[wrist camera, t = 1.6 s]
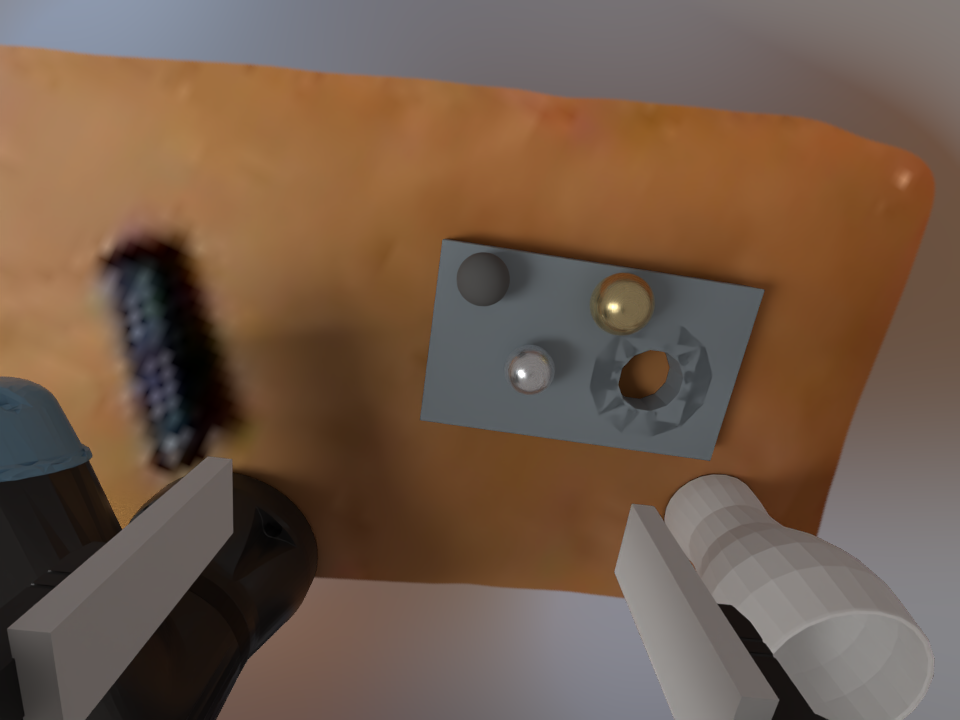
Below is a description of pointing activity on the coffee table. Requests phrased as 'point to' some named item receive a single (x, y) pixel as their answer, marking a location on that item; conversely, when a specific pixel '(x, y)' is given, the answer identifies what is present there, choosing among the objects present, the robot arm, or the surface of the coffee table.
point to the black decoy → (483, 279)
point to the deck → (586, 355)
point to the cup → (805, 603)
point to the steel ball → (529, 370)
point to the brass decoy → (622, 304)
